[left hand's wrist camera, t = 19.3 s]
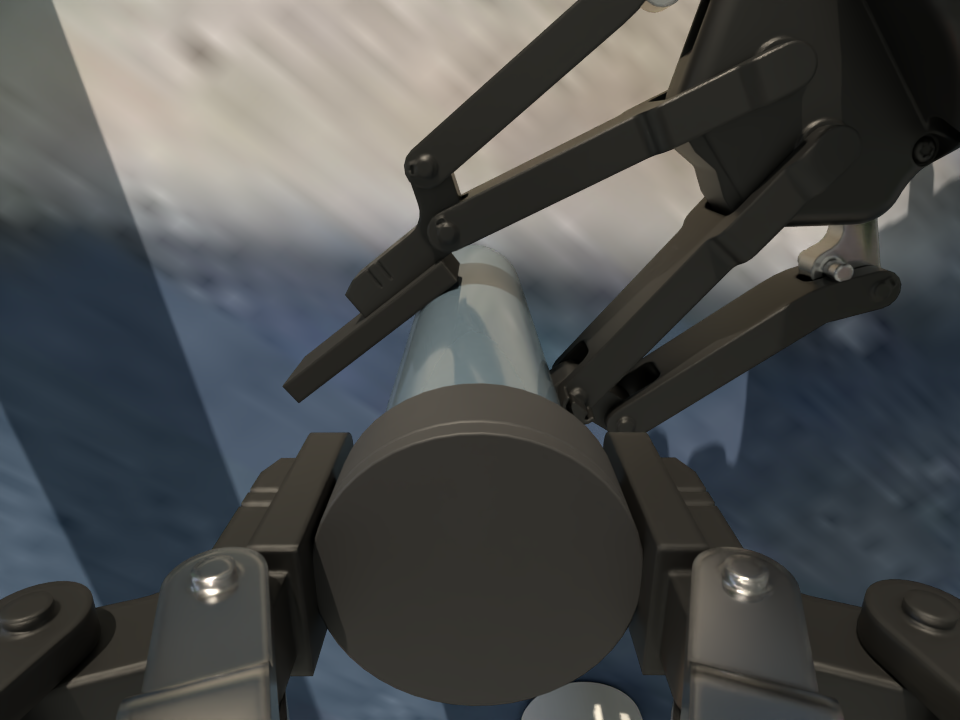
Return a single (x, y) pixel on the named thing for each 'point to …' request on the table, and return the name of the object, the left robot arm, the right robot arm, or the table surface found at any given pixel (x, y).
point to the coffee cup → (583, 704)
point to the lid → (477, 548)
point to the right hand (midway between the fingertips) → (351, 428)
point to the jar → (475, 334)
